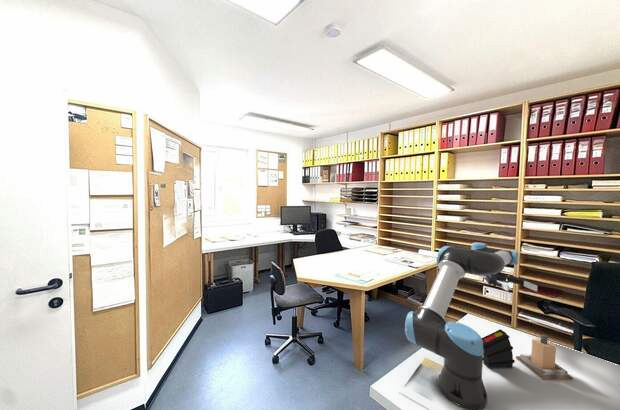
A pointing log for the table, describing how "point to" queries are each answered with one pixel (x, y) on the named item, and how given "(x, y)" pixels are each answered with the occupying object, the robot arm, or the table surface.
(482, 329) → the table surface
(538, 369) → the tray
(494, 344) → the magazine
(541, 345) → the orange bottle
